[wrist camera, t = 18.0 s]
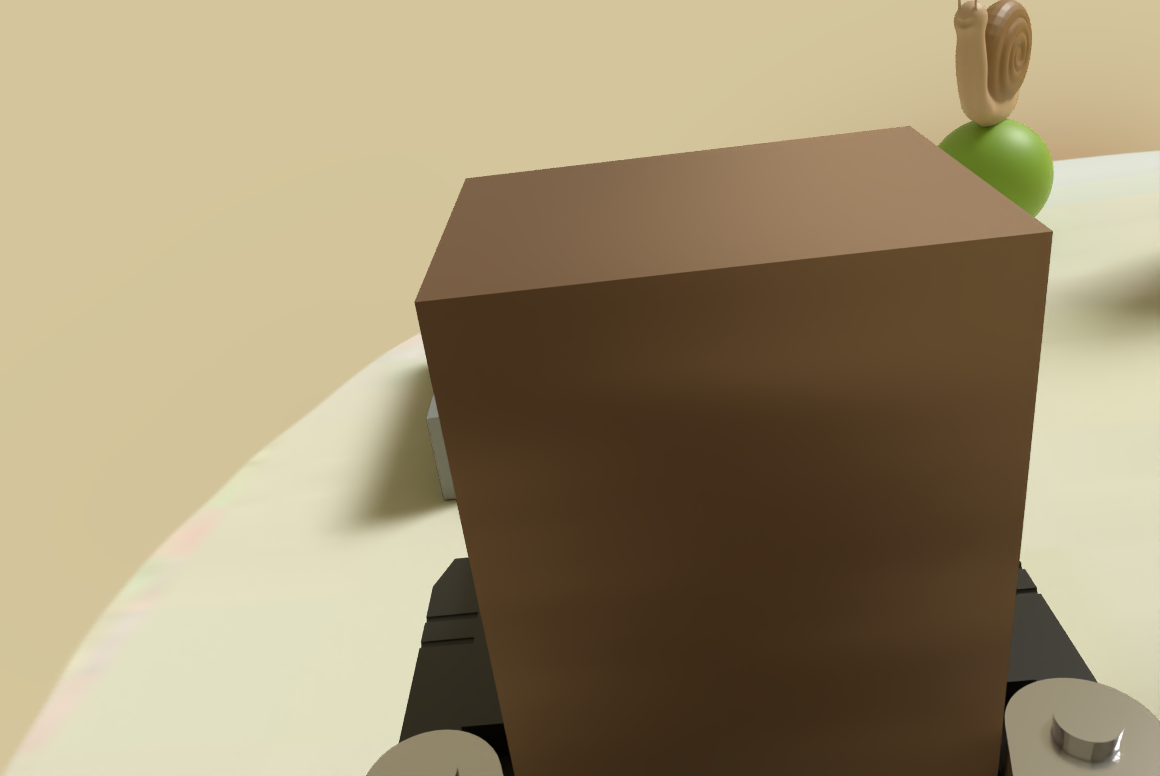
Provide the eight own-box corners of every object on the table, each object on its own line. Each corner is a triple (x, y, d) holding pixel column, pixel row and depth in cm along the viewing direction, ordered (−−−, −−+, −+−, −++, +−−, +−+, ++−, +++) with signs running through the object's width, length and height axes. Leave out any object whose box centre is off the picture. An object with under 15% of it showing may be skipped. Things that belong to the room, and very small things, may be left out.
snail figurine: (893, 252, 46) (901, -24, 40) (952, 211, 50) (966, -45, 44) (1012, 269, 42) (1037, -30, 37) (1064, 224, 46) (1094, -52, 41)
